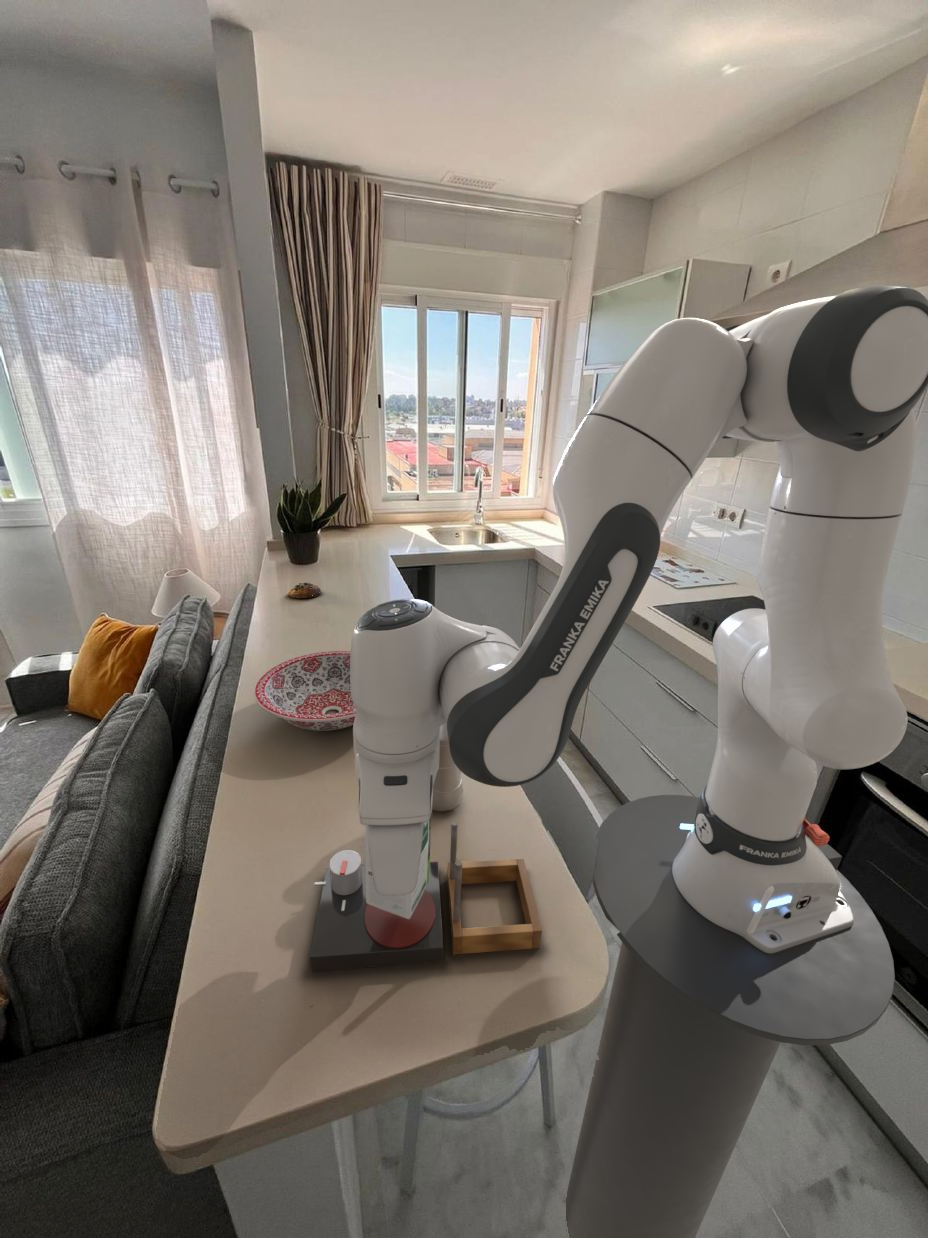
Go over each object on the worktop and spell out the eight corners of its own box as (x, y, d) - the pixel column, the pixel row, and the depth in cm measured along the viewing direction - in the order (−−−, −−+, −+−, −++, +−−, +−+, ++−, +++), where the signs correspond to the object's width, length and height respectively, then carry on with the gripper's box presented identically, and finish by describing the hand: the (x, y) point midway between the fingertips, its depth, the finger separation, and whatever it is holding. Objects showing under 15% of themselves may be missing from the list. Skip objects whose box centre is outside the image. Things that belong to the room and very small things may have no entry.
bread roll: (321, 597, 173) (318, 584, 171) (288, 603, 170) (285, 590, 168) (321, 589, 183) (318, 576, 181) (290, 594, 180) (287, 581, 179)
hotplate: (433, 881, 65) (433, 880, 65) (437, 946, 57) (437, 944, 57) (367, 885, 64) (367, 884, 64) (361, 951, 56) (361, 950, 56)
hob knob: (334, 869, 66) (332, 847, 65) (364, 869, 66) (363, 847, 65) (327, 896, 62) (325, 873, 61) (359, 895, 62) (358, 873, 61)
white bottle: (470, 806, 81) (475, 701, 74) (435, 823, 78) (436, 714, 70) (449, 784, 86) (452, 683, 79) (415, 798, 82) (414, 694, 75)
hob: (437, 865, 70) (437, 851, 69) (442, 962, 58) (443, 946, 57) (321, 872, 69) (319, 857, 68) (301, 973, 56) (298, 957, 55)
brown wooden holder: (521, 874, 69) (528, 807, 65) (539, 948, 60) (549, 874, 55) (447, 879, 68) (449, 810, 64) (453, 955, 58) (455, 880, 54)
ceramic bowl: (279, 681, 117) (275, 651, 115) (402, 679, 120) (402, 650, 117) (238, 758, 91) (232, 721, 88) (398, 754, 93) (398, 718, 90)
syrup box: (410, 921, 55) (415, 819, 50) (363, 904, 57) (363, 803, 52) (429, 881, 61) (435, 785, 56) (385, 867, 62) (388, 771, 57)
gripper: (373, 700, 61) (377, 790, 66) (356, 826, 42) (363, 938, 47) (425, 699, 62) (424, 788, 67) (431, 822, 43) (429, 933, 48)
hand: (399, 851), depth 57 cm, fingers closed on syrup box, 7 cm apart
